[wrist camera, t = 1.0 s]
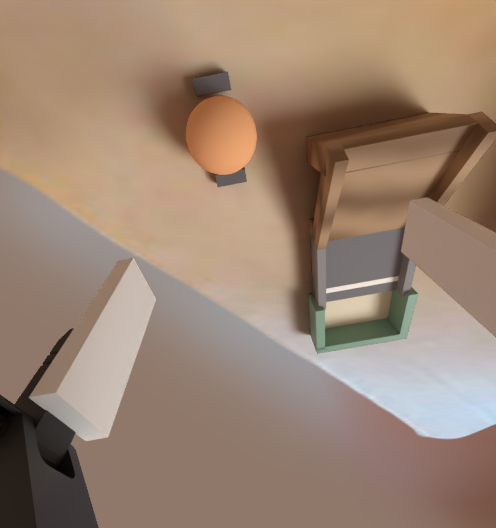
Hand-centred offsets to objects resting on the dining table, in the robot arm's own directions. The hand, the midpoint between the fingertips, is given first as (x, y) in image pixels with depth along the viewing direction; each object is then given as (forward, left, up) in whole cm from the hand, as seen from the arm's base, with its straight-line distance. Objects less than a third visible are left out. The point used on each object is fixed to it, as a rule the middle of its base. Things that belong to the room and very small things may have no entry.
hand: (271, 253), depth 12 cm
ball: (-4, -2, -14) cm, 14 cm away
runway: (+13, +12, -17) cm, 25 cm away
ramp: (+3, +12, -17) cm, 21 cm away
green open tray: (+22, +12, -17) cm, 30 cm away
